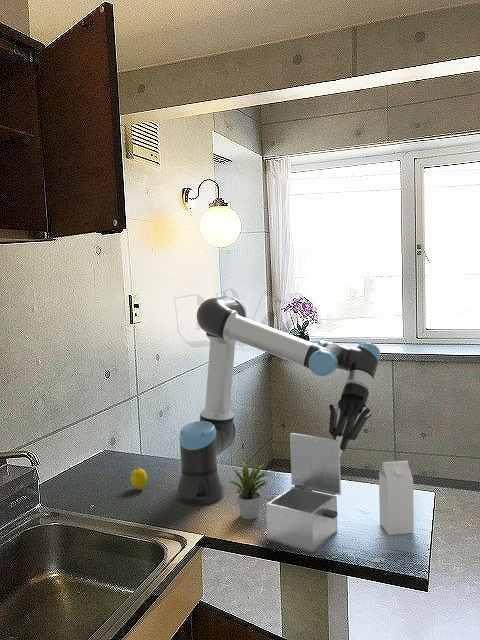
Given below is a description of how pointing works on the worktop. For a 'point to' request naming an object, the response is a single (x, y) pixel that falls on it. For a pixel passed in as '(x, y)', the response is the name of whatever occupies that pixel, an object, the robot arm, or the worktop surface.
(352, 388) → the robot arm
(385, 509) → the milk carton
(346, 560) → the worktop surface
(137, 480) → the fruit
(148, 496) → the worktop surface
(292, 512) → the white hinged box
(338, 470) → the lid
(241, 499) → the house plant
